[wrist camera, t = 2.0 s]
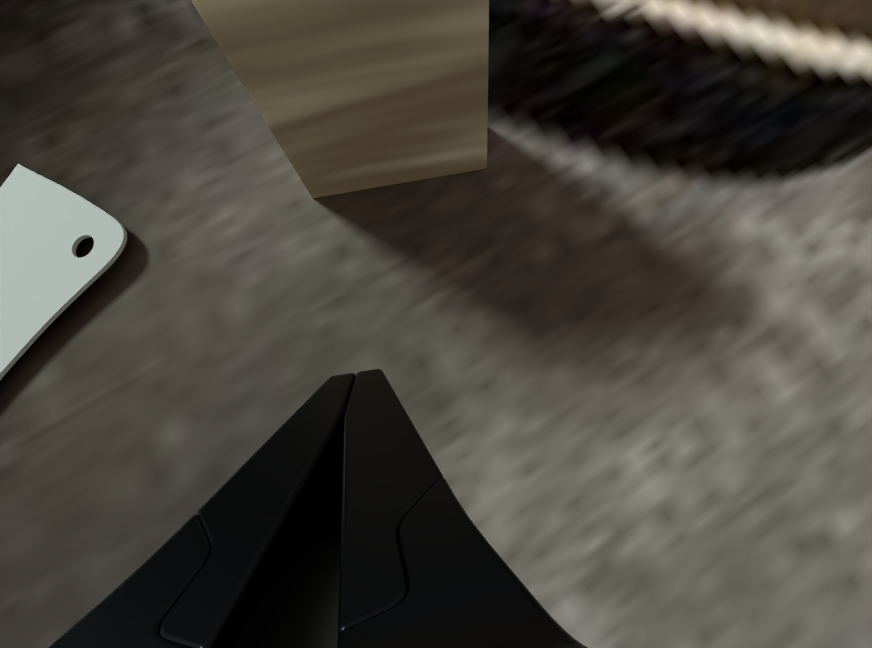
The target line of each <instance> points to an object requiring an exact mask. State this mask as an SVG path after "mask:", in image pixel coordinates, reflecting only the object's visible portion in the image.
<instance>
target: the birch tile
mask: <svg viewBox="0 0 872 648" xmlns="http://www.w3.org/2000/svg"><path fill="white" fill-rule="evenodd" d="M191 1H192V3H193V4H194V6H195V8H196V9H197V11H198V12H199V14H200V16H201V17H202V19H203V21H204V22H205V24H206V25H207V27H208V29H209V30H210V32H211V34H212V35H213V37H214V38H215V40H216V42H217V43H218V45H219V47H220V48H221V50H222V51H223V53H224V55H225V56H226V58H227V60H228V61H229V63H230V65H231V66H232V68H233V69H234V71H235V73H236V74H237V76H238V78H239V79H240V81H241V82H242V84H243V86H244V87H245V89H246V91H247V92H248V94H249V95H250V97H251V99H252V100H253V102H254V104H255V105H256V107H257V108H258V110H259V112H260V113H261V115H262V117H263V118H264V120H265V121H266V123H267V125H268V126H269V128H270V130H271V131H272V133H273V134H274V136H275V138H276V139H277V141H278V143H279V144H280V146H281V147H282V149H283V151H284V152H285V154H286V156H287V157H288V159H289V160H290V162H291V164H292V165H293V167H294V169H295V170H296V172H297V173H298V175H299V177H300V178H301V180H302V182H303V183H304V185H305V186H306V188H307V190H308V191H309V193H310V195H311V196H312V198H319V197H324V196H330V195H336V194H342V193H348V192H354V191H359V190H365V189H371V188H377V187H383V186H388V185H394V184H400V183H406V182H412V181H418V180H423V179H429V178H435V177H441V176H447V175H452V174H458V173H464V172H470V171H476V170H482V169H487V129H488V35H489V0H191Z"/></svg>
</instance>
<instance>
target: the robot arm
mask: <svg viewBox="0 0 872 648" xmlns="http://www.w3.org/2000/svg"><path fill="white" fill-rule="evenodd" d="M49 648H587V647H586V646H584V645H582V644H581V643H580V642H578V641H577V640H575V639H574V638H573V637H572V636H570V635H569V634H568V633H567V632H566V631H565V630H564V629H563V628H562V627H561V626H560V625H559V624H558V623H557V622H556V621H555V620H554V619H553V618H552V617H551V616H550V615H549V614H548V613H547V611H546V610H545V609H544V608H543V607H542V606H541V605H540V603H539V602H538V601H537V600H536V599H535V597H534V596H533V595H532V594H531V593H530V592H529V590H528V589H527V588H526V587H525V586H524V584H523V583H522V582H521V581H520V580H519V579H518V577H517V576H516V575H515V574H514V573H513V571H512V570H511V569H510V568H509V567H508V566H507V564H506V563H505V562H504V561H503V560H502V558H501V557H500V556H499V555H498V554H497V552H496V551H495V550H494V549H493V548H492V547H491V545H490V544H489V543H488V542H487V540H486V539H485V538H484V537H483V535H482V534H481V533H480V531H479V530H478V529H477V528H476V526H475V525H474V524H473V522H472V521H471V520H470V518H469V517H468V516H467V514H466V512H465V511H464V509H463V508H462V506H461V505H460V503H459V502H458V500H457V498H456V497H455V495H454V494H453V492H452V490H451V489H450V487H449V485H448V483H447V482H446V480H445V479H444V478H443V475H442V474H441V472H440V470H439V468H438V467H437V465H436V463H435V461H434V460H433V458H432V456H431V455H430V453H429V451H428V449H427V448H426V446H425V444H424V442H423V441H422V439H421V437H420V435H419V434H418V432H417V430H416V429H415V427H414V425H413V423H412V422H411V420H410V418H409V416H408V415H407V413H406V411H405V410H404V408H403V406H402V404H401V403H400V401H399V399H398V397H397V396H396V394H395V392H394V390H393V389H392V387H391V385H390V384H389V382H388V380H387V378H386V377H385V375H384V373H383V371H382V370H380V369H374V370H368V371H362V372H358V373H357V375H355V374H354V373H349V374H343V375H336V376H332V377H330V378H329V379H328V380H327V381H326V382H325V383H324V384H323V385H322V386H321V387H320V388H319V389H318V390H317V391H316V392H315V393H314V394H313V395H312V396H311V397H310V398H309V399H308V400H307V401H306V402H305V403H304V404H303V405H302V406H301V407H300V408H299V409H298V410H297V411H296V412H295V413H294V414H293V415H292V416H291V417H290V418H289V419H288V420H287V421H286V422H285V423H284V424H283V425H282V426H281V427H280V428H279V429H278V430H277V431H276V432H275V433H274V434H273V435H272V436H271V437H270V438H269V439H268V440H267V441H266V442H265V443H264V444H263V445H262V446H261V448H260V449H259V450H258V451H257V452H256V453H255V454H254V455H253V456H252V457H251V458H250V459H249V460H248V461H247V462H246V463H245V464H244V465H243V466H242V467H241V468H240V469H239V470H238V471H237V472H236V473H235V474H234V475H233V476H232V477H231V478H230V479H229V480H228V481H227V482H226V483H225V484H224V485H223V486H222V487H221V488H220V489H219V490H218V491H217V492H216V493H215V494H214V495H213V496H212V497H211V498H210V499H209V500H208V501H207V502H206V503H205V504H204V505H203V506H202V507H201V508H200V509H199V510H198V515H196V514H195V515H193V516H192V517H191V518H190V519H189V520H188V521H187V522H186V523H185V524H184V525H183V526H182V527H181V528H180V529H179V530H178V531H177V532H176V533H175V534H174V535H173V536H172V537H171V538H170V539H169V540H168V541H167V542H166V543H165V544H164V545H163V546H162V547H161V548H159V549H158V550H157V551H156V552H155V553H154V554H153V555H152V556H151V557H150V558H149V559H148V560H147V561H146V562H145V563H144V564H143V565H142V566H141V567H139V568H138V569H137V570H136V571H135V572H134V573H133V574H132V575H131V576H130V577H128V578H127V579H126V580H125V581H124V582H123V583H122V584H121V585H120V586H118V587H117V588H116V589H115V590H114V591H113V592H112V593H111V594H110V595H108V596H107V597H106V598H105V599H104V600H103V601H102V602H100V603H99V604H98V605H97V606H96V607H95V608H94V609H92V610H91V611H90V612H89V613H88V614H87V615H86V616H84V617H83V618H82V619H81V620H80V621H79V622H77V623H76V624H75V625H74V626H73V627H72V628H71V629H69V630H68V631H67V632H66V633H65V634H64V635H63V636H61V637H60V638H59V639H58V640H57V641H56V642H55V643H53V644H52V645H51V646H50V647H49Z"/></svg>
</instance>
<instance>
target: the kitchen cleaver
mask: <svg viewBox="0 0 872 648" xmlns="http://www.w3.org/2000/svg"><path fill="white" fill-rule="evenodd" d="M89 237H92V238H93V240H94V246H93V249H92V250H91V252H90V253H89V254H88V255H86V256H84V257H80V258H78V257H77V255H76V248H77V246H78V244H79V243H80V242H81V241H82V240H83V239H85V238H89ZM126 242H127V232H126V230H125V228H124V227H123V225H122V224H121V223H120V222H118V221H117V220H116V219H115V218H113V217H112V216H110V215H109V214H107V213H106V212H104V211H103V210H101V209H100V208H98V207H96V206H95V205H93V204H92V203H90V202H88V201H87V200H85V199H84V198H82V197H80V196H78V195H77V194H75V193H73V192H72V191H70V190H68V189H66V188H64V187H62V186H61V185H59V184H57V183H55V182H53V181H51V180H49V179H46V178H44V177H42V176H40V175H38V174H36V173H34V172H32V171H30V170H29V169H27V168H25V167H23V166H21V165H20V164H18V165H17V166H16V167H15V169H14V170H13V172H12V173H11V174H10V176H9V177H8V178H7V180H6V181H5V182H4V184H3V185H2V186H1V188H0V380H1V379H2V378H3V376H4V375H5V374H6V373H7V372H8V371H9V370H10V368H11V367H12V366H13V365H14V364H15V363H16V362H17V361H18V359H19V358H20V357H21V356H22V355H23V354H24V353H25V352H26V350H27V349H28V348H29V347H30V346H31V345H32V344H33V343H34V342H35V340H36V339H37V338H38V337H39V336H40V335H41V334H42V333H43V332H44V331H45V330H46V329H47V328H48V327H49V325H50V324H51V323H52V322H53V321H54V320H55V319H56V318H57V317H58V316H59V315H60V314H61V313H62V312H63V311H64V310H65V309H66V308H67V307H68V306H69V305H70V304H71V303H72V302H73V301H74V300H75V299H77V298H78V297H79V296H80V295H81V294H82V293H83V292H84V291H85V290H86V289H87V288H88V287H89V286H90V285H91V284H92V283H93V282H95V281H96V280H97V279H98V278H99V277H100V276H101V275H102V274H103V273H104V272H105V271H106V270H107V269H108V268H109V267H110V266H111V265H112V264H113V263H114V262H115V261H116V259H117V258H118V257H119V256H120V254H121V253H122V251H123V250H124V248H125V245H126Z"/></svg>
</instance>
